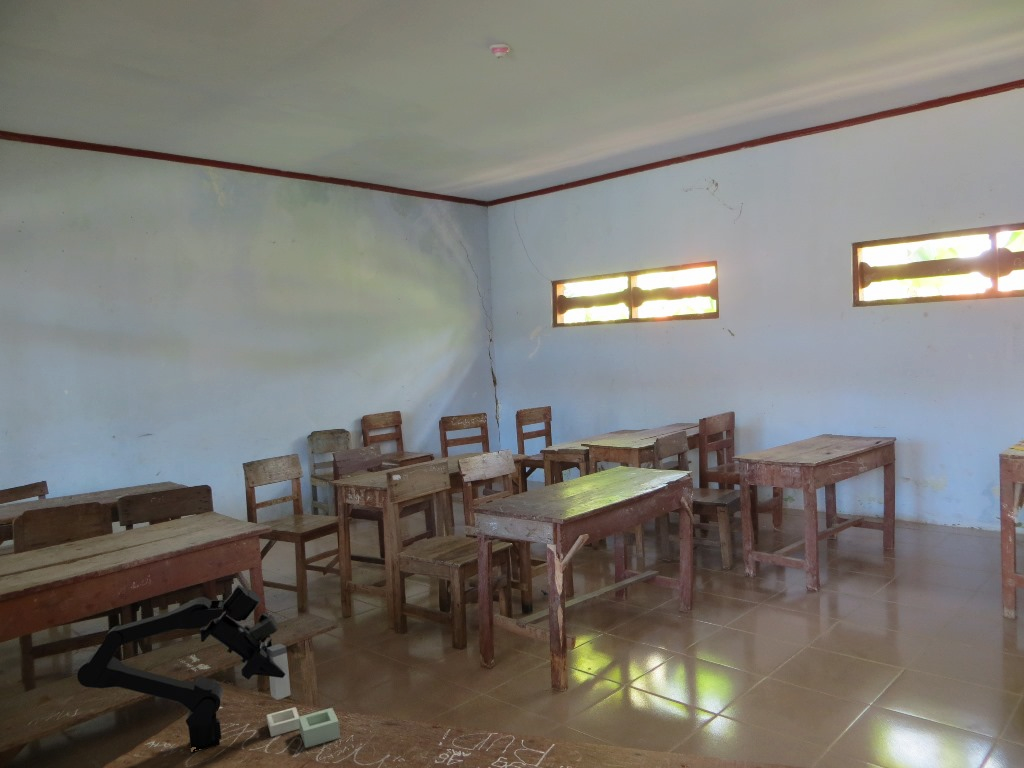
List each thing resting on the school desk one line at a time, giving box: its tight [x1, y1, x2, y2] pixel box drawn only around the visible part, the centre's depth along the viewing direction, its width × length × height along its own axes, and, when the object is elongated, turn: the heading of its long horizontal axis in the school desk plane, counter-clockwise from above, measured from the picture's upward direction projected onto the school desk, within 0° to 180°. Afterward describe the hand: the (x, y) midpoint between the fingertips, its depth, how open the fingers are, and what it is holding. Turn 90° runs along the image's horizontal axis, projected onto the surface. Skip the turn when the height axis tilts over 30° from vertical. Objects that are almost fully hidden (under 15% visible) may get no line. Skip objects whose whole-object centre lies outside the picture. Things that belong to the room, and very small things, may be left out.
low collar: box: [266, 706, 300, 738], centre depth 182 cm, size 7×7×2 cm
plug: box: [267, 643, 292, 701], centre depth 181 cm, size 4×4×12 cm
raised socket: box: [299, 707, 341, 749], centre depth 176 cm, size 8×8×4 cm
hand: (284, 672), depth 182 cm, fingers closed on plug, 5 cm apart
